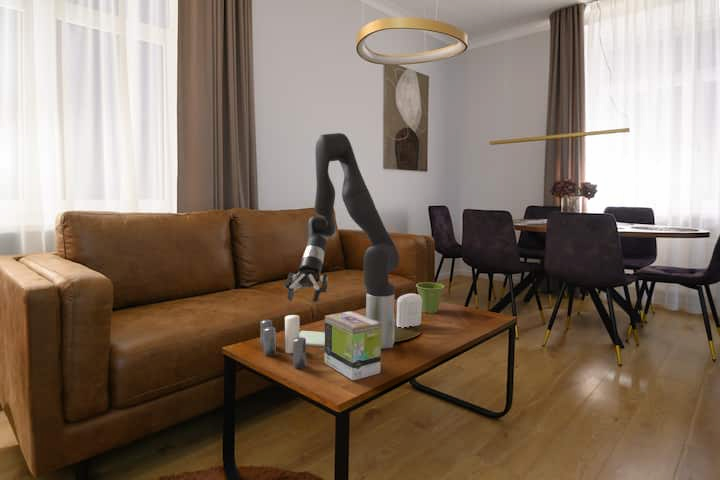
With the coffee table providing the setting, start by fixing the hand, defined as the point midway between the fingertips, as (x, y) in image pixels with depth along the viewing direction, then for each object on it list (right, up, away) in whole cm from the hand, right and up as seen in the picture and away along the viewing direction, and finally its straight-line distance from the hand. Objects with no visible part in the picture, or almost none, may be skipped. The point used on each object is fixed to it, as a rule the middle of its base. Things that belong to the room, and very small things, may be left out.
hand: (302, 300), depth 146 cm
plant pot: (+49, -10, +39) cm, 63 cm away
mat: (+3, -13, +3) cm, 14 cm away
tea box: (+17, -17, -21) cm, 31 cm away
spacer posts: (-1, -15, -12) cm, 20 cm away
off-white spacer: (-2, -15, -8) cm, 17 cm away
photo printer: (+38, -12, +19) cm, 44 cm away
